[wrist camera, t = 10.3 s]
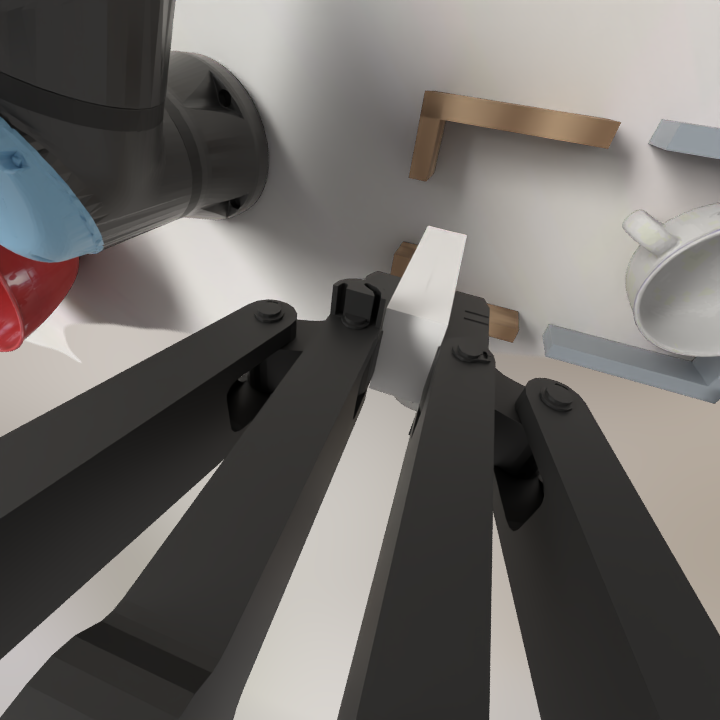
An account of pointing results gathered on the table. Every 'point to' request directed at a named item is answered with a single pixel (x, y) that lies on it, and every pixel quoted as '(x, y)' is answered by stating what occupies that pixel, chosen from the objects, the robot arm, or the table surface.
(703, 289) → the teacup
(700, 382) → the dock
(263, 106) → the table surface
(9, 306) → the mixing bowl
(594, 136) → the wooden u-shaped bracket
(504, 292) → the table surface
